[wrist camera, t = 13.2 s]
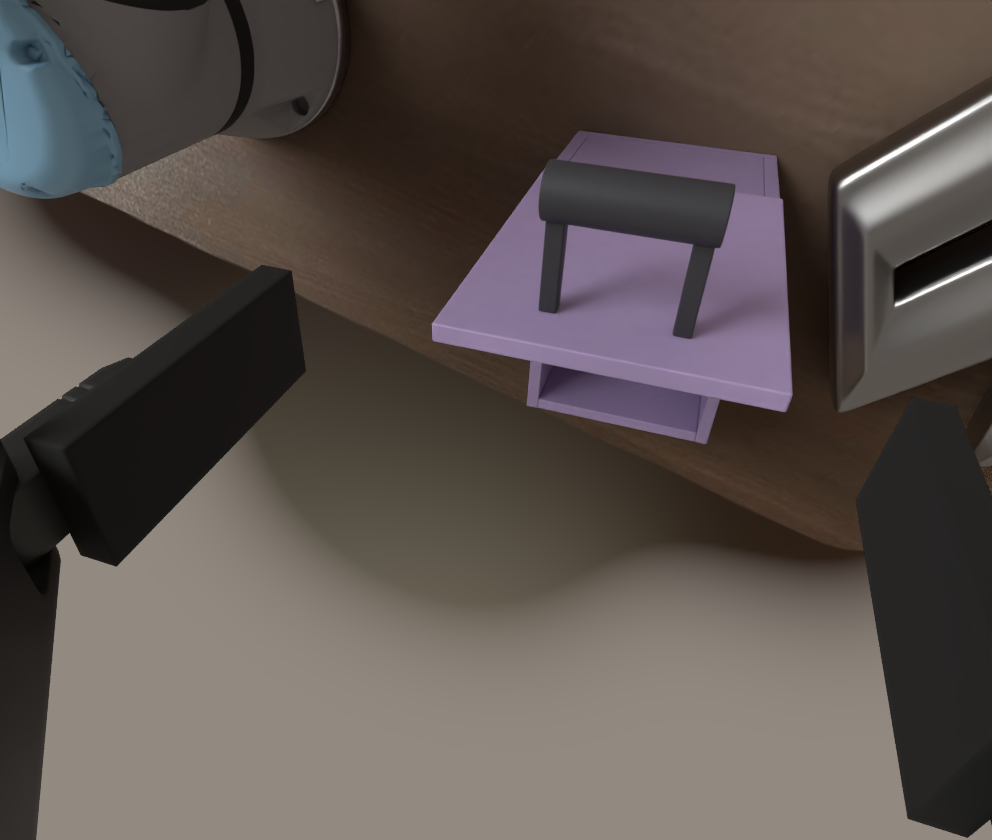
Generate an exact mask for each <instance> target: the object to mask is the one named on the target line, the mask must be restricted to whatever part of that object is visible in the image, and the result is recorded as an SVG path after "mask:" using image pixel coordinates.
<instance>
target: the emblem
mask: <svg viewBox="0 0 992 840" xmlns="http://www.w3.org/2000/svg"><path fill="white" fill-rule="evenodd" d="M991 220H992V76H991V77H990V78H988V79H986V80H984V81H983V82H981V83H979V84H978V85H976V86H974V87H972V88H971V89H969V90H967V91H966V92H964V93H962V94H960V95H959V96H957V97H955V98H953V99H952V100H950V101H948V102H947V103H945V104H943V105H941V106H940V107H938V108H936V109H935V110H933V111H931V112H929V113H928V114H926V115H924V116H922V117H921V118H919V119H917V120H916V121H914V122H912V123H910V124H909V125H907V126H905V127H904V128H902V129H900V130H898V131H897V132H895V133H893V134H892V135H890V136H888V137H886V138H885V139H883V140H881V141H879V142H878V143H876V144H874V145H873V146H871V147H869V148H867V149H866V150H864V151H862V152H861V153H859V154H857V155H855V156H854V157H852V158H850V159H849V160H847V161H845V162H844V163H842V164H841V165H839V166H838V167H836V168H835V169H834V170H833V171H832V172H831V174H830V176H829V182H828V262H829V356H830V390H831V398H832V403H833V406H834V409H835V410H836V412H838V413H844V412H848V411H851V410H854V409H857V408H859V407H862V406H865V405H868V404H871V403H873V402H876V401H879V400H881V399H884V398H887V397H890V396H892V395H895V394H898V393H901V392H903V391H906V390H909V389H911V388H914V387H917V386H920V385H922V384H925V383H928V382H931V381H933V380H936V379H939V378H941V377H944V376H947V375H950V374H952V373H955V372H958V371H961V370H963V369H966V368H969V367H971V366H974V365H977V364H980V363H982V362H985V361H988V360H991V359H992V225H990V226H987V227H985V228H983V229H981V230H979V231H977V232H975V233H973V234H971V235H969V236H967V237H964V238H962V239H960V240H958V241H956V242H954V243H952V244H950V245H948V246H946V247H944V248H942V249H940V250H938V251H936V252H934V253H932V254H930V255H928V256H926V257H923V258H921V259H919V260H917V261H915V262H913V263H911V264H909V265H907V266H905V267H903V268H901V269H899V270H897V271H895V269H896V268H897V267H899V266H900V265H902V264H904V263H906V262H908V261H910V260H912V259H914V258H916V257H918V256H920V255H922V254H924V253H926V252H928V251H930V250H932V249H934V248H936V247H939V246H941V245H943V244H945V243H947V242H949V241H951V240H953V239H955V238H957V237H959V236H961V235H963V234H965V233H967V232H969V231H971V230H973V229H975V228H977V227H979V226H981V225H983V224H985V223H987V222H989V221H991ZM966 432H967V435H968V437H969V440H970V442H971V445H972V447H973V450H974V452H975V455H976V457H977V460H978V462H979V465H980V467H987V466H992V387H991V388H990V390H989V391H988V392H987V394H986V395H985V397H984V398H983V400H982V401H981V403H980V405H979V406H978V408H977V410H976V411H975V413H974V415H973V417H972V419H971V421H970V423H969V426H968V428H967V430H966Z"/></svg>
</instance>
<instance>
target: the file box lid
mask: <svg viewBox="0 0 992 840" xmlns="http://www.w3.org/2000/svg"><path fill="white" fill-rule="evenodd" d="M735 188H736V186H735V184H731V183H724V182H717V181H710V180H702V179H695V178H688V177H681V176H673V175H666V174H659V173H652V172H644V171H637V170H630V169H623V168H616V167H608V166H601V165H594V164H587V163H579V162H572V161H565V160H558V159H550V160H549V161H548V162H547V164H546V167H545V169H544V170H543V171H542V173H541V174H540V176H539V177H538V178H537V180H536V181H535V182H534V184H533V185H532V187H531V188H530V189H529V191H528V192H527V193H526V195H525V196H524V198H523V199H522V200H521V202H520V203H519V204H518V206H517V207H516V209H515V210H514V211H513V213H512V214H511V216H510V217H509V218H508V220H507V221H506V222H505V224H504V225H503V227H502V228H501V229H500V231H499V232H498V233H497V235H496V236H495V238H494V239H493V240H492V242H491V243H490V244H489V246H488V247H487V249H486V250H485V251H484V253H483V254H482V255H481V257H480V258H479V260H478V261H477V262H476V264H475V265H474V267H473V268H472V269H471V271H470V272H469V273H468V275H467V276H466V278H465V279H464V280H463V282H462V283H461V284H460V286H459V287H458V289H457V290H456V291H455V293H454V294H453V295H452V297H451V298H450V300H449V301H448V302H447V304H446V305H445V307H444V308H443V309H442V311H441V312H440V313H439V315H438V316H437V318H436V319H435V320H434V322H433V323H432V339H433V341H435V342H440V343H445V344H450V345H455V346H460V347H465V348H470V349H475V350H480V351H485V352H489V353H494V354H499V355H504V356H509V357H514V358H519V359H524V360H529V361H534V362H539V363H544V364H549V365H554V366H559V367H563V368H568V369H573V370H578V371H583V372H588V373H593V374H598V375H603V376H608V377H613V378H618V379H623V380H628V381H632V382H637V383H642V384H647V385H652V386H657V387H662V388H667V389H672V390H677V391H682V392H687V393H692V394H697V395H701V396H706V397H711V398H716V399H721V400H726V401H731V402H736V403H741V404H746V405H751V406H756V407H761V408H766V409H771V410H775V411H780V412H786V411H787V409H788V406H789V404H790V401H791V399H792V396H793V391H792V371H791V351H790V331H789V311H788V291H787V271H786V251H785V231H784V211H783V199H778V198H771V197H764V196H757V195H750V194H743V193H735Z"/></svg>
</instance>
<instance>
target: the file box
mask: <svg viewBox="0 0 992 840" xmlns="http://www.w3.org/2000/svg"><path fill="white" fill-rule="evenodd" d="M557 159H558V160H565V161H572V162H579V163H587V164H594V165H601V166H608V167H616V168H623V169H630V170H637V171H644V172H652V173H659V174H666V175H673V176H681V177H688V178H695V179H702V180H710V181H717V182H724V183H731V184H735V186H736V188H735V193H743V194H750V195H757V196H764V197H771V198H778V199H780V192H779V179H778V166H777V156H774V155H767V154H759V153H751V152H743V151H735V150H727V149H720V148H712V147H704V146H696V145H688V144H681V143H673V142H665V141H657V140H649V139H642V138H634V137H626V136H618V135H610V134H603V133H595V132H587V131H578V133H577V134H576V135H575V136H574V137H573V139H572V140H571V141H570V143H569V144H568V145H567V146H566V148H565V149H564V150H563V151H562V153H561V154H560V155H559V157H558V158H557ZM719 402H720V399H716V398H711V397H706V396H701V395H697V394H692V393H687V392H682V391H677V390H672V389H667V388H662V387H657V386H652V385H647V384H642V383H637V382H632V381H628V380H623V379H618V378H613V377H608V376H603V375H598V374H593V373H588V372H583V371H578V370H573V369H568V368H563V367H559V366H554V365H549V364H544V363H539V362H534V361H531V363H530V374H529V385H528V397H527V406H531V407H536V408H537V407H538V408H542V409H546V410H551V411H555V412H560V413H565V414H569V415H574V416H579V417H583V418H588V419H592V420H597V421H602V422H606V423H611V424H615V425H620V426H625V427H629V428H634V429H638V430H643V431H648V432H652V433H657V434H661V435H666V436H671V437H675V438H680V439H684V440H689V441H695V442H698V443H702V444H706V443H707V441H708V437H709V434H710V431H711V428H712V424H713V421H714V418H715V415H716V411H717V408H718V405H719Z"/></svg>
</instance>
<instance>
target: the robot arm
mask: <svg viewBox="0 0 992 840" xmlns="http://www.w3.org/2000/svg"><path fill="white" fill-rule="evenodd" d="M349 44H350V34H349V21H348V13H347V8H346V2H345V0H0V188H3V189H5V190H7V191H10V192H13V193H16V194H19V195H23V196H27V197H33V198H43V199H45V198H58V197H63V196H67V195H70V194H73V193H76V192H79V191H82V190H85V189H88V188H95V187H105V186H108V185H110V184H112V183H114V182H115V181H116V180H117V179H118V178H120V177H122V176H125V175H127V174H129V173H131V172H133V171H136V170H138V169H140V168H142V167H144V166H147V165H149V164H151V163H153V162H155V161H158V160H160V159H162V158H164V157H167V156H169V155H171V154H173V153H175V152H178V151H180V150H182V149H184V148H186V147H189V146H191V145H193V144H195V143H197V142H200V141H202V140H204V139H206V138H209V137H211V136H213V135H216V134H219V135H229V136H238V137H247V138H259V139H264V138H276V137H282V136H285V135H289V134H291V133H293V132H296V131H298V130H300V129H302V128H304V127H306V126H308V125H310V124H311V123H313V122H314V121H316V120H317V119H318V118H319V117H321V116H322V115H323V114H324V113H325V112H326V111H327V110H328V108H329V107H330V106H331V104H332V103H333V101H334V100H335V98H336V96H337V94H338V92H339V90H340V88H341V86H342V83H343V80H344V77H345V73H346V69H347V64H348V57H349ZM305 372H306V368H305V361H304V354H303V347H302V340H301V333H300V327H299V319H298V313H297V306H296V298H295V291H294V284H293V277H292V271H290V270H285V269H280V268H275V267H270V266H265V265H261V266H260V267H258V268H257V269H255V270H254V271H253V272H251V273H250V274H249V275H247V276H246V277H244V278H243V279H242V280H240V281H239V282H238V283H236V284H235V285H233V286H232V287H231V288H229V289H228V290H227V291H225V292H224V293H222V294H221V295H220V296H218V297H217V298H215V299H214V300H213V301H211V302H210V303H209V304H207V305H206V306H205V307H203V308H202V309H200V310H199V311H198V312H196V313H195V314H194V315H192V316H191V317H189V318H188V319H187V320H185V321H184V322H182V323H181V324H180V325H178V326H177V327H176V328H174V329H173V330H172V331H170V332H169V333H167V334H166V335H165V336H163V337H162V338H160V339H159V340H158V341H156V342H155V343H154V344H152V345H151V346H149V347H148V348H147V349H145V350H144V351H143V352H141V353H140V354H138V355H137V356H136V357H134V358H133V359H132V358H126V359H123V360H121V361H118V362H116V363H113V364H111V365H108V366H106V367H103V368H101V369H100V370H98V371H97V372H95V373H94V374H92V375H91V376H89V377H88V378H87V379H85V380H84V381H82V382H81V383H80V384H79V387H74V388H73V389H71V390H70V391H68V392H67V393H65V394H64V395H63V396H62V399H61V400H60V399H57V400H56V401H54V402H53V403H51V404H50V405H48V406H47V407H46V408H44V409H43V410H41V411H40V412H39V413H37V414H36V415H34V416H33V417H31V418H30V419H29V420H27V421H26V422H24V423H23V424H22V425H20V426H19V427H17V428H16V429H15V430H13V431H12V432H10V433H9V434H7V435H6V436H5V437H3V438H2V439H0V840H36V833H37V822H38V811H39V800H40V789H41V777H42V765H43V754H44V743H45V732H46V720H47V709H48V698H49V687H50V686H49V685H50V676H51V664H52V653H53V642H54V630H55V619H56V608H57V595H58V585H59V573H60V563H61V560H60V555H59V551H58V549H57V547H56V545H57V544H58V543H59V542H60V541H61V540H62V539H63V538H64V537H65V536H66V535H68V534H69V533H70V534H71V536H72V538H73V540H74V542H75V544H76V546H77V548H78V550H79V552H80V554H81V555H82V556H85V557H88V558H91V559H94V560H98V561H101V562H104V563H107V564H110V565H113V566H118V565H119V563H120V562H121V561H122V560H123V559H124V558H125V557H126V556H127V555H128V554H129V553H130V552H131V551H132V550H133V549H134V548H135V547H136V546H137V545H138V544H139V543H140V542H141V541H142V540H143V539H144V538H145V537H146V536H147V534H149V533H150V532H151V531H152V529H153V528H154V527H155V526H156V525H157V524H158V523H159V522H160V521H161V520H162V519H163V518H164V517H165V516H166V515H167V514H168V513H169V512H170V511H171V510H172V509H173V508H174V507H175V505H177V504H178V503H179V502H180V501H181V500H182V499H183V497H184V496H185V495H186V494H187V493H188V492H189V491H190V490H191V489H192V488H193V487H194V486H195V485H196V484H197V483H198V482H199V481H200V480H201V479H202V478H203V477H204V476H205V475H206V474H207V473H208V472H209V470H210V469H212V468H213V467H214V465H215V464H216V463H217V462H218V461H219V460H220V459H221V458H222V457H223V456H224V455H225V454H226V453H227V452H228V451H229V450H230V449H231V448H232V447H233V446H234V445H235V444H236V443H237V442H238V441H239V440H240V439H241V438H242V437H243V436H244V434H245V433H246V432H247V431H248V430H249V429H250V428H251V427H252V426H253V425H254V424H255V423H256V422H257V421H258V420H259V419H260V418H261V417H262V416H263V415H264V414H265V413H266V412H267V411H268V410H269V409H270V408H271V407H272V406H273V405H274V403H275V402H277V400H278V399H279V398H280V397H281V396H282V395H283V394H284V393H285V392H286V391H287V390H288V389H289V388H290V387H291V386H292V385H293V384H294V383H295V382H296V381H297V380H298V379H299V378H300V377H301V376H302V375H303V374H304V373H305ZM856 505H857V511H858V517H859V523H860V530H861V536H862V542H863V548H864V554H865V560H866V566H867V572H868V579H869V584H870V591H871V597H872V603H873V609H874V615H875V621H876V628H877V634H878V640H879V646H880V652H881V658H882V664H883V670H884V677H885V683H886V689H887V695H888V701H889V707H890V713H891V719H892V726H893V732H894V738H895V744H896V750H897V756H898V762H899V768H900V775H901V780H902V787H903V793H904V799H905V805H906V811H907V817H908V819H910V820H913V821H917V822H920V823H923V824H926V825H929V826H933V827H935V828H938V829H942V830H945V831H948V832H951V833H954V834H957V835H960V836H964V837H967V838H968V837H969V836H970V835H972V834H973V833H974V832H975V831H977V830H978V829H979V828H980V827H981V826H983V825H984V824H985V823H986V822H988V821H989V820H991V824H992V495H991V493H990V490H989V488H988V485H987V483H986V480H985V478H984V475H983V473H982V470H981V468H980V465H979V462H978V460H977V457H976V455H975V452H974V450H973V447H972V445H971V442H970V440H969V437H968V435H967V432H966V429H965V427H964V424H963V422H962V419H961V417H960V414H959V412H958V409H957V407H956V406H955V405H950V404H945V403H940V402H935V401H930V400H925V399H920V398H915V397H912V398H911V400H910V401H909V403H908V405H907V407H906V409H905V411H904V412H903V414H902V416H901V418H900V420H899V422H898V423H897V425H896V427H895V429H894V431H893V433H892V434H891V436H890V438H889V440H888V442H887V444H886V446H885V447H884V449H883V451H882V453H881V455H880V457H879V458H878V460H877V462H876V464H875V466H874V468H873V469H872V471H871V473H870V475H869V477H868V479H867V480H866V482H865V484H864V486H863V488H862V490H861V491H860V493H859V495H858V497H857V499H856Z"/></svg>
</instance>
